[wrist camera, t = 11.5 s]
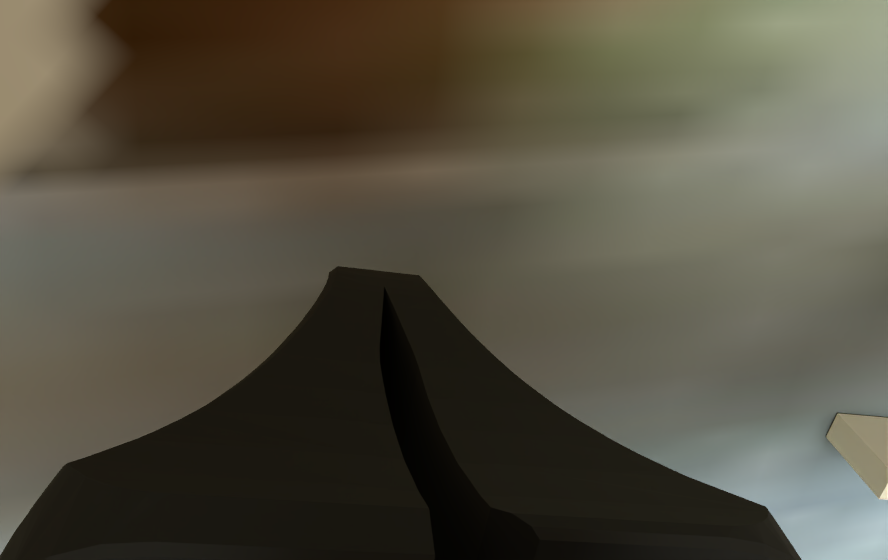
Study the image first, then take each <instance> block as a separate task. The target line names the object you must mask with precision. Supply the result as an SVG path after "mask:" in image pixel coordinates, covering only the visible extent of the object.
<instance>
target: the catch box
mask: <svg viewBox="0 0 888 560" xmlns="http://www.w3.org/2000/svg"><path fill="white" fill-rule="evenodd" d="M826 438H827V439H828V440H829V441H830V442H831V443H832V445H833V446H834V447H835V448H836V449H837V450H838V452H839V453H840V454H841V455H842V456H843V457H844V459H845V460H846V461H847V462H848V463H849V464H850V466H851V467H852V468H853V469H854V470H855V472H856V473H857V474H858V475H859V476H860V477H861V479H862V480H863V481H864V482H865V483H866V484H867V486H868V487H869V488H870V489H871V490H872V491H873V493H874V494H875V495H876V496H877V497H878V498H879V499H886V500H888V418H885V417H874V416H862V415H851V414H840V413H838V414H837V416H836V418H835V420H834V422H833V424H832V426H831V428H830V430H829V432H828V434H827V436H826Z"/></svg>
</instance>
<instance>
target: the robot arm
mask: <svg viewBox="0 0 888 560" xmlns="http://www.w3.org/2000/svg"><path fill="white" fill-rule="evenodd" d="M0 560H801V558H800V557H799V555H798V554H797V552H796V551H795V549H794V548H793V546H792V545H791V543H790V542H789V540H788V539H787V537H786V536H785V534H784V533H783V531H782V530H781V528H780V527H779V525H778V524H777V522H776V521H775V519H774V518H773V516H772V515H771V513H770V512H769V511H768V509H767V508H766V507H765V506H762V505H760V504H757V503H754V502H752V501H749V500H747V499H744V498H741V497H739V496H736V495H734V494H731V493H728V492H726V491H723V490H720V489H718V488H715V487H713V486H710V485H707V484H705V483H702V482H700V481H697V480H694V479H692V478H689V477H687V476H685V475H682V474H680V473H678V472H676V471H673V470H671V469H669V468H667V467H665V466H663V465H661V464H659V463H656V462H654V461H652V460H650V459H648V458H646V457H644V456H642V455H640V454H638V453H636V452H634V451H632V450H630V449H628V448H626V447H624V446H622V445H620V444H619V443H617V442H615V441H613V440H611V439H609V438H608V437H606V436H604V435H603V434H601V433H599V432H598V431H596V430H594V429H592V428H591V427H589V426H587V425H586V424H584V423H582V422H581V421H579V420H577V419H576V418H574V417H573V416H571V415H570V414H568V413H567V412H565V411H563V410H562V409H560V408H559V407H558V406H556V405H555V404H553V403H552V402H551V401H549V400H548V399H547V398H545V397H544V396H542V395H541V394H540V393H538V392H537V391H536V390H534V389H533V388H532V387H530V386H529V385H528V384H526V383H525V382H524V381H523V380H521V379H520V378H519V377H518V376H516V375H515V374H514V373H513V372H512V371H510V370H509V369H508V368H507V367H506V366H505V365H504V364H503V363H502V362H501V361H499V360H498V359H497V358H496V357H495V356H494V355H493V354H492V353H491V352H490V351H488V350H487V349H486V348H485V347H484V346H483V345H482V344H481V343H480V342H479V341H478V340H477V339H476V338H475V337H474V336H473V335H472V334H471V333H470V332H469V331H468V329H467V328H466V327H465V326H464V325H463V324H462V323H461V322H460V321H459V320H458V319H457V318H456V317H455V315H454V314H453V313H452V312H451V311H450V310H449V309H448V308H447V306H446V305H445V304H444V303H443V302H442V301H441V300H440V298H439V297H438V296H437V295H436V294H435V293H434V291H433V290H432V289H431V288H430V287H429V286H428V284H427V283H426V282H425V281H424V280H423V279H422V278H421V277H420V276H419V275H410V274H401V273H393V272H384V271H375V270H366V269H357V268H348V267H339V266H338V267H336V268H335V269H333V270H332V271H331V272H329V278H328V280H327V283H326V285H325V287H324V289H323V291H322V292H321V294H320V296H319V297H318V299H317V301H316V302H315V304H314V305H313V306H312V308H311V309H310V310H309V312H308V313H307V314H306V316H305V317H304V319H303V320H302V321H301V323H300V324H299V325H298V326H297V327H296V329H295V330H294V331H293V332H292V333H291V334H290V335H289V336H288V337H287V338H286V340H285V341H284V342H283V343H282V344H281V345H280V346H279V347H278V348H277V349H276V350H275V351H274V352H273V353H272V354H271V355H270V356H269V357H268V358H267V359H266V360H265V361H264V362H263V363H262V364H261V365H259V366H258V367H257V368H256V369H255V370H254V371H252V372H251V373H250V374H249V375H248V376H246V377H245V378H244V379H243V380H242V381H240V382H239V383H238V384H236V385H235V386H233V387H232V388H231V389H229V390H228V391H226V392H225V393H223V394H222V395H221V396H219V397H218V398H216V399H215V400H213V401H212V402H210V403H209V404H207V405H206V406H204V407H202V408H200V409H199V410H197V411H195V412H193V413H191V414H189V415H187V416H185V417H183V418H182V419H180V420H178V421H176V422H173V423H171V424H169V425H167V426H165V427H163V428H161V429H159V430H156V431H154V432H152V433H150V434H147V435H145V436H143V437H140V438H138V439H135V440H133V441H130V442H127V443H124V444H122V445H119V446H116V447H113V448H110V449H108V450H105V451H102V452H99V453H97V454H94V455H91V456H88V457H85V458H82V459H79V460H76V461H73V462H70V463H67V464H66V465H65V466H63V467H62V469H61V470H60V471H59V473H58V474H57V475H56V476H55V478H54V479H53V480H52V481H51V483H50V484H49V485H48V487H47V488H46V489H45V491H44V492H43V493H42V495H41V496H40V497H39V499H38V500H37V501H36V503H35V504H34V506H33V507H32V508H31V510H30V511H29V513H28V514H27V516H26V517H25V518H24V520H23V521H22V523H21V524H20V525H19V527H18V528H17V529H16V531H15V532H14V534H13V536H12V537H11V539H10V540H9V542H8V544H7V545H6V547H5V549H4V550H3V552H2V554H1V555H0Z"/></svg>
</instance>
